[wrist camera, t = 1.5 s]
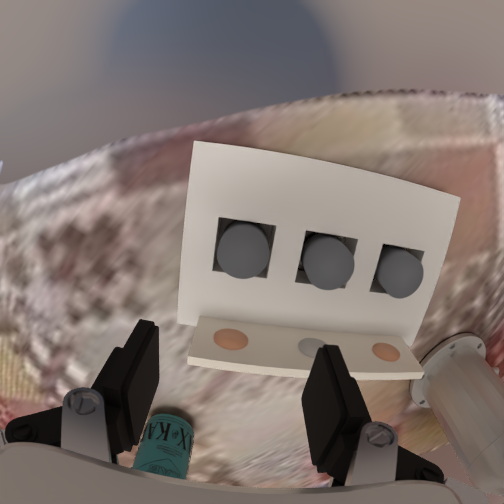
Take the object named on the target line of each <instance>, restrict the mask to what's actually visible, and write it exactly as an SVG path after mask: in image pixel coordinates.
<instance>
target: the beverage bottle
mask: <svg viewBox="0 0 504 504" xmlns="http://www.w3.org/2000/svg"><path fill="white" fill-rule="evenodd" d="M145 425H146V424H145ZM145 427H146V428H145V429H144V430H143V433H142V434H143V437H142V436H141V437H142V440H141V439H140V440H141V441H140V442H141V443H140V442H139V443H140V446H139V445H138V446H139V448H138V450H136V451H138V452H137V453H135V454H136V457H135V458H134V459H135V461H134V464H133V467H131V468H132V469H136V470H140V471H144V472H148V473H153V474H157V475H162V476H167V477H172V478H178V479H184V480H186V474H188V473H187V471H188V470H187V468H189V466H188V463H189V462H190V461H189V457H190V458H191V456H190V452H191V453H192V450H191V448H192V447H193V446H192V444H193V443H194V441H193V437H195V436H194V434H193V433H194V432H193V429H192V427H191V425H190V424H189V423H188V422H187V421H185V420H184V419H182V418H180V417H178V416H175V415H171V414H157V415H154V416H152V417H151V418H150V419H149V421H148V422H147V425H146V426H145ZM192 442H193V443H192ZM189 464H190V463H189Z"/></svg>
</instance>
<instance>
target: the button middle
mask: <svg viewBox="0 0 504 504" xmlns="http://www.w3.org/2000/svg"><path fill="white" fill-rule="evenodd" d="M301 262H302V264H303V267H304V269H305V272H306V274H307V276H308V279H309V280H310V282H311V283H312V284H313V285H314V286H315V287H317V288H319V289H322V290H334V289H337V288H340V287H342V286H343V285H344V284H346V283H347V282H348V281H349V279H350V278H351V276H352V274H353V272H354V266H355V262H354V258H353V255H352V253H351V252H350V251H349V249H348V248H347V247H346V246H345V245H344V244H343V243H342V242H341V241H340V240H339V239H338V238H337V237H336V236H334V235H332V234H326V233H320V234H316V235H314V236H312V237H311V238H309V239H308V240H307V241H306V242H305V244H304V245H303V248H302V252H301Z"/></svg>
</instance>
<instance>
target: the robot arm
mask: <svg viewBox="0 0 504 504" xmlns="http://www.w3.org/2000/svg"><path fill="white" fill-rule="evenodd" d="M485 356H486V347H485V344H484V342H483V341H482V340H481V339H480V337H478V336H477V335H476V334H472V333H463V334H458V335H456V336H453V337H451V338H449V339H447V340H445V341H444V342H442V343H441V344H440V345H438V346H437V347H436V348H434V349H433V350H432V351H431V352H430V353H429V354H428V355H427V356H426V357H425V358H424V359H423V361H422V362H421V363H420V365H421V367H422V368H423V370H424V371H425V373H424V374H423V376H422V378H421V379H412V380H411V383H410V395H411V397H412V399H413V401H414V402H415V404H417V405H418V406H420V407H423V408H431V409H432V411H433V413H434V415H435V416H436V418H437V420H438V422H439V424H440V425H441V427H442V429H443V431H444V433H445V434H446V436H447V438H448V440H449V442H450V444H451V445H452V447H453V449H454V451H455V453H456V455H457V457H458V459H459V461H460V462H461V465H462V466H463V469H464V470H465V473H466V475H467V476H468V479H469V481H470V482H471V484H472V485H473V486H474V487H475V488H473V487H471V486H469V485H466V484H464V483H462V482H460V481H458V480H455V479H453V478H451V477H447V478H444V474H443V472H442V470H441V469H440V468H439V467H438V466H437V465H435V464H433V463H431V462H429V461H427V460H425V459H423V458H421V457H420V456H418V455H416V454H414V453H412V452H410V451H408V450H406V449H404V448H402V447H401V446H399V445H398V435H397V433H396V431H395V430H394V429H393V428H392V427H391V426H389V425H388V424H386V423H383V422H378V421H374V422H372V420H371V417H370V415H369V412H368V410H367V407H366V405H365V402H364V399H363V397H362V394H361V392H360V389H359V387H358V384H357V382H356V380H355V378H354V377H351V376H350V373H349V371H348V368H347V366H346V363H345V361H344V358H343V356H342V353H341V351H340V348H339V346H338V345H328V344H324V345H323V347H322V348H321V347H319V348H318V350H317V353H316V356H315V359H314V362H313V365H312V368H311V371H310V374H309V377H308V380H307V383H306V385H305V388H304V391H303V394H302V407H303V413H304V419H305V425H306V430H307V436H308V442H309V448H310V454H311V460H312V464H313V465H314V466H315V465H316V466H317V471H318V473H324V472H327V474H328V475H330V476H331V479H330V482H329V485H328V487H325V488H256V487H241V486H229V485H219V484H211V483H203V482H196V481H190V480H184V479H178V478H172V477H167V476H162V475H157V474H153V473H148V472H144V471H140V470H136V469H132V468H128V467H124V466H120V465H119V462H118V456H117V454H119V453H122V452H124V450H125V451H129V452H131V449H132V446H133V445H135V446H137V445H138V443H139V440H140V437H141V434H142V431H143V428H144V425H145V422H146V419H147V416H148V413H149V410H150V407H151V404H152V401H153V398H154V395H155V392H156V389H157V387H158V383H159V327H158V326H155V324H154V322H153V321H147V320H142V319H140V320H139V321H138V323H137V325H136V326H135V328H134V330H133V332H132V333H131V335H130V337H129V338H128V340H127V342H126V344H125V345H124V347H123V348H120V347H115V348H114V350H113V351H112V353H111V354H110V356H109V358H108V360H107V361H106V363H105V365H104V366H103V368H102V370H101V371H100V373H99V375H98V377H97V378H96V380H95V382H94V384H93V385H92V387H91V388H86V387H81V388H75V389H73V390H71V391H69V392H68V393H67V394H66V395H65V397H64V399H63V406H61V407H57V408H53V409H50V410H46V411H42V412H38V413H35V414H31V415H27V416H23V417H19V418H16V419H13V420H12V421H10V422H9V423H8V425H7V426H6V428H5V429H3V430H1V429H0V504H489V500H488V497H487V496H486V494H485V493H487V494H494V495H501V496H504V382H503V381H502V380H501V378H500V377H499V376H498V374H499V368H498V367H492V368H491V367H490V365H489V364H488V363H487V362H486V361H485ZM503 504H504V503H503Z"/></svg>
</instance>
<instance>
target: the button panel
mask: <svg viewBox="0 0 504 504" xmlns="http://www.w3.org/2000/svg"><path fill="white" fill-rule="evenodd" d="M459 203H460V197H457V196H454V195H451V194H448V193H445V192H441V191H438V190H435V189H432V188H429V187H425V186H422V185H418V184H415V183H411V182H408V181H404V180H401V179H397V178H393V177H390V176H386V175H382V174H378V173H374V172H370V171H366V170H362V169H358V168H353V167H349V166H345V165H340V164H336V163H331V162H326V161H321V160H317V159H312V158H306V157H301V156H296V155H290V154H285V153H279V152H273V151H267V150H261V149H254V148H248V147H241V146H233V145H226V144H218V143H210V142H201V141H194V145H193V153H192V160H191V168H190V176H189V184H188V192H187V201H186V211H185V220H184V231H183V242H182V254H181V266H180V280H179V296H178V315H177V323H179V324H185V325H191V326H196V329H195V333H194V336H193V340H192V343H191V347H190V350H189V354H188V364H189V365H195V366H201V367H208V368H215V369H222V370H229V371H237V372H245V373H254V374H264V375H274V376H286V377H299V378H308V377H309V374H310V371H311V368H312V365H313V362H314V359H315V356H316V353H317V350H318V348H319V347H321V348H322V347H323V345H324V344H328V345H338V346H339V348H340V351H341V353H342V356H343V358H344V361H345V363H346V366H347V368H348V371H349V373H350V376H351V377H354V378H355V380H404V379H421V378H422V376H423V374H424V373H425V371H424V370H423V368H422V367H421V365H420V364H419V362H418V361H417V359H416V358H415V356H414V355H413V354H412V352H411V351H410V349H409V348H408V346H412V344H413V342H414V339H415V337H416V335H417V333H418V330H419V328H420V325H421V323H422V321H423V318H424V316H425V313H426V310H427V308H428V305H429V303H430V300H431V297H432V295H433V292H434V289H435V286H436V283H437V280H438V278H439V275H440V272H441V269H442V265H443V262H444V259H445V256H446V252H447V249H448V246H449V242H450V239H451V235H452V231H453V228H454V224H455V220H456V216H457V212H458V207H459ZM221 217H222V218H229V219H236V220H243V221H250V222H257V223H263V224H270V225H273V226H272V231H271V237H270V242H269V260H268V263H267V265H266V267H265V269H264V270H263V271H262V272H261V273H260V274H258V275H257V276H255V277H252V278H248V279H238V278H234V277H232V276H230V275H228V274H227V273H226V272H224V270H223V269H222V268H221V267H220V265H219V263H218V259H216V254H217V246H218V238H219V230H220V222H221ZM306 230H308V231H314V232H320V233H326V234H332V235H338V236H344V237H346V241H345V246H346V247H347V248H348V249H349V251H350V252H351V253H352V255H353V258H354V262H355V266H354V272H353V274H352V276H351V278H350V279H349V281H348V282H347V283H346V284H344V285H343V286H342V287H340V288H337V289H334V290H322V289H319V288H317V287H315V286H314V285H313V284H312V283H311V282H310V280H309V279H308V276H307V274H306V272H305V271H300V270H298V265H299V261H300V256H301V252H302V247H303V242H304V237H305V232H306ZM383 243H384V244H389V245H394V246H400V247H405V248H409V249H408V252H409V253H410V254H412V255H413V256H414V257H416V258H417V259H418V260H419V261H420V262H421V264H422V266H423V270H424V275H423V280H422V282H421V284H420V286H419V288H418V289H417V290H416V291H415V292H414V293H413V294H412V295H410V296H408V297H406V298H401V299H398V298H394V297H392V296H390V295H389V294H388V293H387V292H386V290H385V289H384V288H383V287H382V286H381V285H380V283H379V282H378V281H374V280H373V277H374V274H375V271H376V267H377V264H378V260H379V256H380V253H381V249H382V245H383Z"/></svg>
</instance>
